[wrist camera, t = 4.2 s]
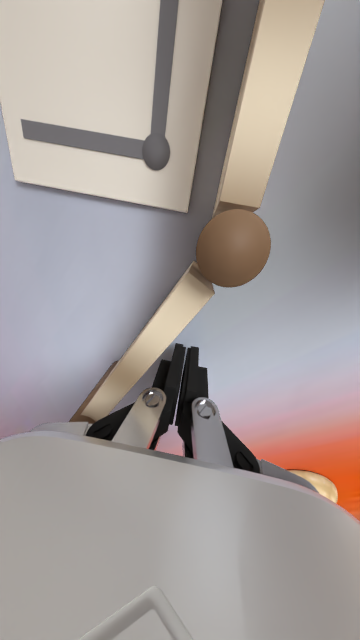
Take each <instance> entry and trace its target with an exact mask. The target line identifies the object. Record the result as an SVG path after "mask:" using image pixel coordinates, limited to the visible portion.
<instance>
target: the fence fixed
mask: <svg viewBox="0 0 360 640" xmlns="http://www.w3.org/2000/svg"><path fill="white" fill-rule="evenodd" d="M324 1H325V0H259V5H258V9H257V14H256V19H255V23H254V28H253V32H252V37H251V41H250V46H249V51H248V55H247V60H246V64H245V69H244V73H243V78H242V83H241V87H240V92H239V96H238V101H237V105H236V110H235V115H234V119H233V124H232V128H231V133H230V137H229V142H228V147H227V151H226V156H225V160H224V165H223V169H222V174H221V179H220V183H219V188H218V192H217V197H216V201H215V206H214V211H213V215H212V219H211V220H210V221H209V222H208V223H207V225H206V226H205V227H204V229H203V230H202V232H201V234H200V236H199V238H198V242H197V246H196V260H197V264H198V267H199V269H200V271H201V273H202V274H203V275H204V277H205V278H206V279H207V280H209V281H210V282H212V283H213V284H215V285H218V286H221V287H237V286H240V285H243V284H245V283H247V282H249V281H251V280H252V279H253V278H255V277H256V276H257V275H258V274H259V273H260V272H261V270H262V269H263V267H264V266H265V264H266V262H267V260H268V257H269V254H270V248H271V240H270V234H269V231H268V228H267V226H266V225H265V223H264V222H263V220H262V219H261V218H260V217H259V216H257V215H256V214H254V213H253V212H254V211H256V210H257V209H259V208H260V205H261V202H262V199H263V195H264V192H265V189H266V186H267V183H268V179H269V176H270V173H271V170H272V167H273V164H274V160H275V157H276V154H277V151H278V148H279V144H280V141H281V138H282V135H283V132H284V129H285V125H286V122H287V119H288V116H289V113H290V109H291V106H292V103H293V100H294V97H295V93H296V90H297V87H298V84H299V81H300V78H301V74H302V71H303V68H304V65H305V62H306V58H307V55H308V52H309V49H310V46H311V43H312V39H313V36H314V33H315V30H316V27H317V23H318V20H319V17H320V14H321V11H322V8H323V4H324Z"/></svg>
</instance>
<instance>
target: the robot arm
mask: <svg viewBox="0 0 360 640" xmlns="http://www.w3.org/2000/svg"><path fill="white" fill-rule="evenodd" d="M185 350H186V347H183V345H182V344H177V343H176V345H175V349H174V353H173V356H172V360H171V361H168V360H161V362H160V365H159V368H158V371H157V374H156V377H155V380H154V382H153V385H152V388H147V389H145V390H144V391H143V392H142V393H141V394H140V395H139V397H138V399H137V400H136V402H135V403H133V404H131V405H129V406H126V407H124V408H122V409H120V410H118V411H116V412H114V413H112V414H110V415H108V416H106V417H104V418H102V419H100V420H98V421H96V422H95V423H93V424H88V422H56V423H44V424H41V425H39V426H36V427H35V428H34V429H32V430H31V431H30V432H27V433H21V434H16V435H12V436H8V437H5V438H2V439H0V640H360V521H359V520H357V519H356V518H355V517H354V516H353V515H351V514H350V513H349V512H347V511H346V510H345V509H343V508H342V507H341V506H339V505H337V504H336V503H334V502H333V501H331V500H330V499H328V498H326V497H324V496H323V495H321V494H319V492H318V491H317V489H316V488H315V487H314V486H313V485H312V484H311V483H310V482H309V481H307V480H306V479H304V478H302V477H300V476H298V475H296V474H294V473H291V472H289V471H287V470H285V469H283V468H281V467H278V466H276V465H274V464H272V463H270V462H267V461H265V460H263V459H261V461H260V460H258V459H256V457H255V456H254V455H253V454H252V452H251V451H250V450H249V449H248V448H247V447H246V446H245V445H244V444H243V443H242V442H241V441H240V440H239V439H238V438H237V437H236V436H235V435H234V434H233V433H232V431H231V430H230V429H229V428H228V427H227V426H226V425H225V424H224V423H223V422H222V421H221V417H220V414H219V410H218V407H217V405H216V404H215V403H214V402H213V401H212V400H210V399H208V378H207V368H204V367H199V366H198V357H199V348H198V347H193V346H191V348H188V350H187V355H186V360H185V365H184V370H183V375H182V369H183V363H184V356H185ZM181 376H182V380H181ZM180 382H181V387H180ZM179 388H180V394H179ZM178 394H179V401H178V408H177V414H176V421H175V426H178V434H179V435H180V437H181V438H182V440H183V444H182V446H183V457H182V456H178V455H173V454H169V453H164V452H160V451H156V448H157V446H158V443H159V440H160V436H161V435H163V434H164V433H166V432H167V431H168V426H169V424H170V425H172V424H173V419H174V414H175V409H176V404H177V399H178Z"/></svg>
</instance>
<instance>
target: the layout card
mask: <svg viewBox="0 0 360 640" xmlns="http://www.w3.org/2000/svg"><path fill="white" fill-rule="evenodd" d="M222 2H223V0H0V103H1V108H2V114H3V119H4V124H5V130H6V135H7V140H8V146H9V151H10V156H11V162H12V167H13V173H14V178H15V180H16V181H19V182H24V183H29V184H35V185H40V186H45V187H51V188H56V189H61V190H67V191H72V192H77V193H83V194H88V195H93V196H99V197H104V198H109V199H115V200H120V201H125V202H131V203H136V204H141V205H147V206H152V207H157V208H163V209H168V210H174V211H179V212H184V213H188V207H189V201H190V195H191V189H192V183H193V177H194V171H195V165H196V159H197V153H198V147H199V141H200V135H201V129H202V123H203V117H204V111H205V105H206V99H207V92H208V86H209V80H210V74H211V68H212V62H213V56H214V50H215V44H216V38H217V32H218V26H219V20H220V14H221V8H222Z"/></svg>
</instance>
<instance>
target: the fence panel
mask: <svg viewBox="0 0 360 640" xmlns="http://www.w3.org/2000/svg"><path fill="white" fill-rule="evenodd" d="M214 294H215V292H214V288H213V285H212V282H210V281H209V280H207V279H206V278H205V277H204V275H203V274H202V273H201V271H200V269H199V267H198V264H197V262H195V261H193V262H192V264H191V265H190V266H189V268H188V269H187V270H186V272H185V273H184V274H183V276H182V277H181V278H180V280H179V281H178V282H177V284H176V285H175V286H174V288H173V289H172V290H171V292H170V293H169V294H168V296H167V297H166V298H165V300H164V301H163V302H162V304H161V305H160V306H159V308H158V309H157V311H156V312H155V313H154V315H153V316H152V317H151V319H150V320H149V321H148V323H147V324H146V325H145V327H144V328H143V329H142V331H141V332H140V333H139V335H138V336H137V337H136V339H135V340H134V341H133V343H132V344H131V345H130V347H129V348H128V349H127V351H126V352H125V353H124V355H123V356H122V357H121V359H120V360H119V361H115V362H114V363H113V364H112V365H111V366H110V368H109V369H108V370H107V372H106V373H105V374H104V376H103V377H102V378H101V380H100V381H99V382H98V384H97V385H96V386H95V388H94V389H93V390H92V392H91V393H90V394H89V396H88V397H87V398H86V400H85V401H84V402H83V404H82V405H81V406H80V408H79V409H78V410H77V412H76V413H75V414H74V416H73V417H72V418H71V420H70V421H69V422H88V424H93V423H95V422H96V421H98V420H100V419H102V418H104V417H106V416H108V415H109V413H110V412H111V411H112V410H113V408H114V407H115V406H116V405H117V404H118V403H119V402H120V401H121V399H122V398H123V397H124V396H125V395H126V394H127V393H128V391H129V390H130V389H131V388H132V387H133V386H134V385H135V383H136V382H137V381H138V380H139V379H140V378H141V377H142V376H143V374H144V373H145V372H146V371H147V370H148V369H149V368H150V366H151V365H152V364H153V363H154V362H155V361H156V360H157V358H158V357H159V356H160V355H161V354H162V353H163V352H164V351H165V349H166V348H167V347H168V346H169V345H170V344H171V343H172V341H173V340H174V339H175V338H176V337H177V336H178V335H179V333H180V332H181V331H182V330H183V329H184V328H185V327H186V326H187V324H188V323H189V322H190V321H191V320H192V319H193V318H194V316H195V315H196V314H197V313H198V312H199V311H200V310H201V308H202V307H203V306H204V305H205V304H206V303H207V302H208V301H209V299H210V298H211V297H212V296H213V295H214Z"/></svg>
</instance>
